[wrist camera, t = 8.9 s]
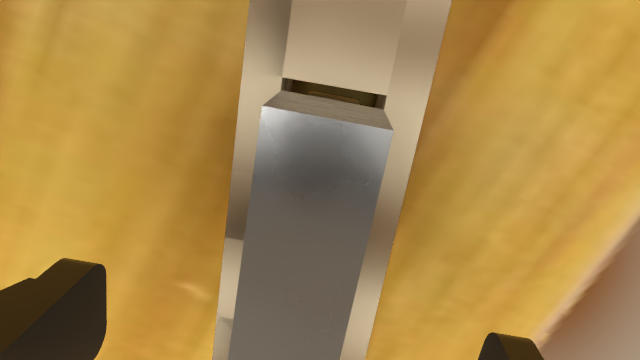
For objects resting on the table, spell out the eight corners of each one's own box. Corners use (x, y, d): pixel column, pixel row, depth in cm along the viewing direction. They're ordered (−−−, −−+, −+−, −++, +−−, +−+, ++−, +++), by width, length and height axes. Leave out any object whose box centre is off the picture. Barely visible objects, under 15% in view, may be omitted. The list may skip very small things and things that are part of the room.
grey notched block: (299, 75, 17) (262, 105, 10) (373, 89, 17) (394, 130, 10) (268, 271, 20) (220, 412, 13) (332, 283, 20) (322, 431, 13)
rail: (280, -87, 16) (262, -121, 12) (446, -59, 16) (472, -85, 12) (227, 361, 22) (206, 419, 19) (344, 382, 22) (344, 443, 19)
